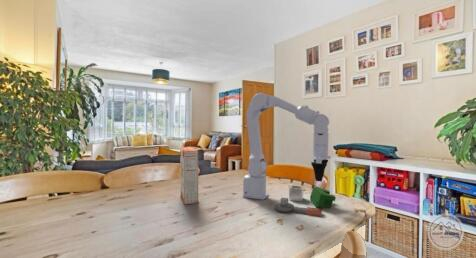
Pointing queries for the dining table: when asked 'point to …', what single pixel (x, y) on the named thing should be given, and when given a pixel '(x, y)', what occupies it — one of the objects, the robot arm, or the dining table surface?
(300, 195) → the socket
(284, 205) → the ratchet
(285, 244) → the dining table surface
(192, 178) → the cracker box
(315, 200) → the clamp
